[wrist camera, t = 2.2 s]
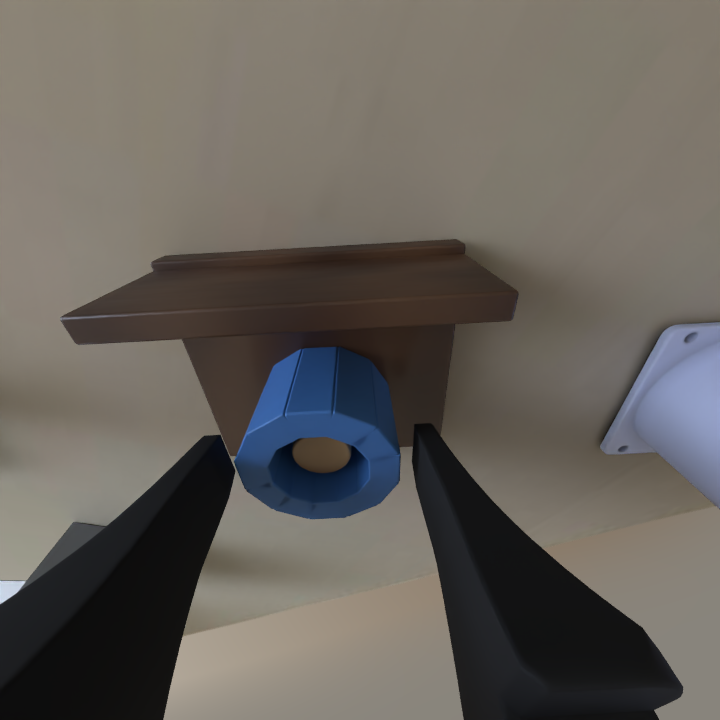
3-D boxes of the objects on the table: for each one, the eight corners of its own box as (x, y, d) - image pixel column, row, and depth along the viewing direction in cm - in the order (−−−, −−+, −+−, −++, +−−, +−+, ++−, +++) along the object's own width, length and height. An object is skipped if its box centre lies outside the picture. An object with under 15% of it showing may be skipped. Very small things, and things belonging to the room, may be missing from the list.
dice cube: (73, 522, 20) (-2, 615, 16) (153, 533, 21) (103, 624, 17) (82, 557, 22) (20, 646, 18) (153, 566, 23) (110, 653, 19)
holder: (458, 238, 11) (524, 278, 7) (435, 431, 16) (464, 521, 12) (164, 255, 11) (48, 305, 7) (236, 442, 16) (196, 535, 12)
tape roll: (388, 342, 12) (402, 407, 9) (388, 438, 15) (398, 515, 12) (252, 350, 12) (214, 417, 9) (278, 444, 15) (257, 522, 12)
